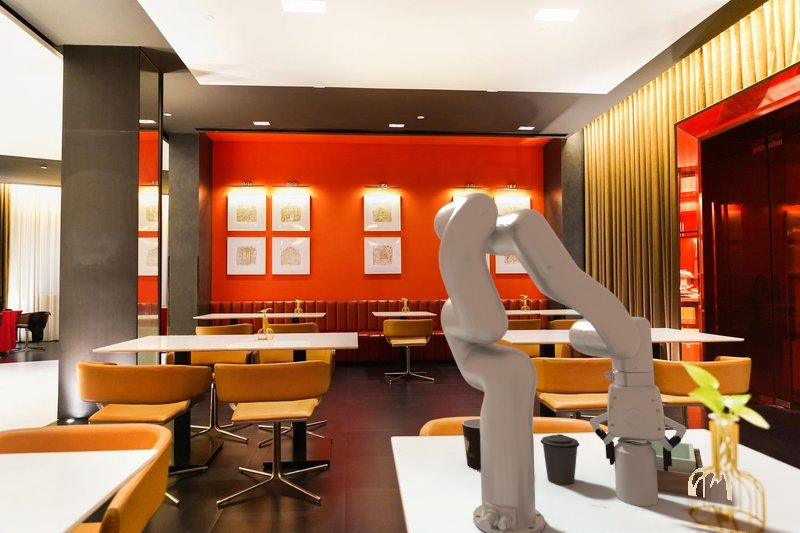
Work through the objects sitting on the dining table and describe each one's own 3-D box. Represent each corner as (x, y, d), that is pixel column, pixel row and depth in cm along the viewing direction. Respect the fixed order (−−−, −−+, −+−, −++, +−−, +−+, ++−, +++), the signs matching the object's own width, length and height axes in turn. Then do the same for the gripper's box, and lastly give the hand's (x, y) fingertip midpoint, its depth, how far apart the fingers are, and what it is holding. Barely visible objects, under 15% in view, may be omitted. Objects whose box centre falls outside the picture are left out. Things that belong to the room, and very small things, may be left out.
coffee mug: (464, 458, 124) (463, 418, 124) (498, 460, 122) (498, 419, 123) (460, 474, 112) (459, 430, 113) (498, 477, 111) (497, 432, 111)
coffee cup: (568, 476, 111) (567, 431, 112) (588, 489, 103) (586, 441, 104) (535, 478, 110) (534, 433, 110) (552, 492, 102) (551, 443, 102)
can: (649, 495, 100) (646, 435, 101) (665, 511, 93) (662, 446, 93) (610, 494, 101) (608, 434, 101) (623, 510, 93) (621, 445, 94)
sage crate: (697, 492, 99) (695, 461, 99) (625, 481, 105) (624, 452, 106) (693, 471, 111) (692, 443, 111) (629, 462, 117) (628, 436, 117)
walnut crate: (706, 502, 96) (704, 474, 97) (617, 488, 104) (616, 462, 104) (700, 473, 112) (699, 449, 112) (623, 462, 120) (623, 439, 120)
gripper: (584, 380, 99) (589, 466, 98) (683, 384, 91) (690, 479, 90) (589, 373, 106) (594, 454, 105) (682, 377, 97) (688, 465, 96)
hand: (638, 465), depth 97 cm, fingers open, 9 cm apart
